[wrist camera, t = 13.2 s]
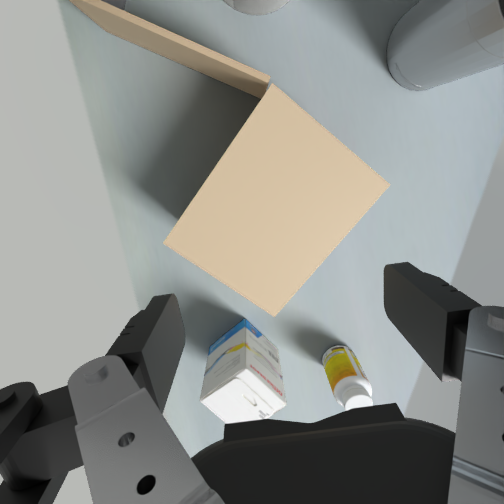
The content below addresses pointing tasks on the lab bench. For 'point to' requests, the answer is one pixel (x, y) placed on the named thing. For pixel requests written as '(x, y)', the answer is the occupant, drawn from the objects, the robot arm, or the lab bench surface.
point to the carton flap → (173, 46)
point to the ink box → (243, 376)
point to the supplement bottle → (347, 378)
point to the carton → (275, 204)
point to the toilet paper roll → (256, 6)
